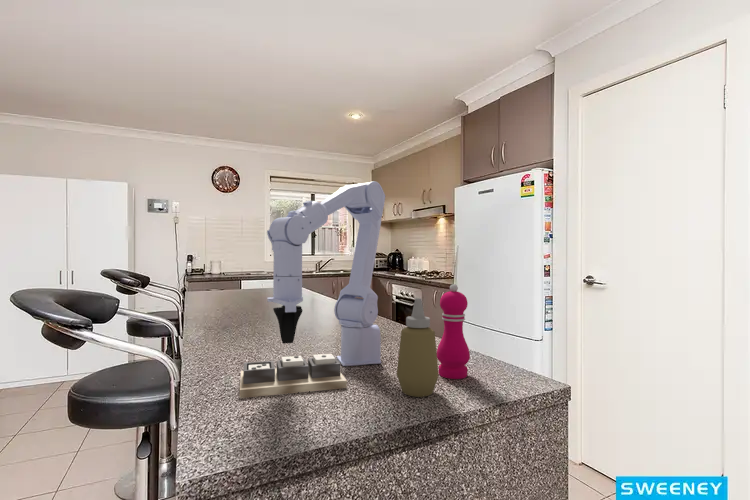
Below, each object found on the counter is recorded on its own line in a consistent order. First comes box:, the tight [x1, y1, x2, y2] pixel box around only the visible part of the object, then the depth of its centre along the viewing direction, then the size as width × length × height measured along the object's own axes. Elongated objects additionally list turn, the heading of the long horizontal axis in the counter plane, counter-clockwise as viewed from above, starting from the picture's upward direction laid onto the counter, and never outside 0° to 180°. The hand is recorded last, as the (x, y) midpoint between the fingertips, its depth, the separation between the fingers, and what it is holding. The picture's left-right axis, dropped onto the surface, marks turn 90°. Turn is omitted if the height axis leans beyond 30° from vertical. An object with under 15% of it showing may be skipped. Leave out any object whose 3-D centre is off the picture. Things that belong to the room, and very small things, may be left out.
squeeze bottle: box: [396, 297, 440, 398], centre depth 76 cm, size 8×8×18 cm
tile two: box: [281, 355, 304, 367], centre depth 81 cm, size 4×4×2 cm
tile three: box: [249, 364, 270, 370], centre depth 79 cm, size 4×4×2 cm
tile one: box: [312, 353, 336, 365], centre depth 83 cm, size 4×4×2 cm
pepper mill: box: [436, 283, 471, 380], centre depth 87 cm, size 7×7×20 cm
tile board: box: [238, 356, 348, 399], centre depth 81 cm, size 20×12×4 cm, turn 107°
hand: (287, 342), depth 80 cm, fingers closed
